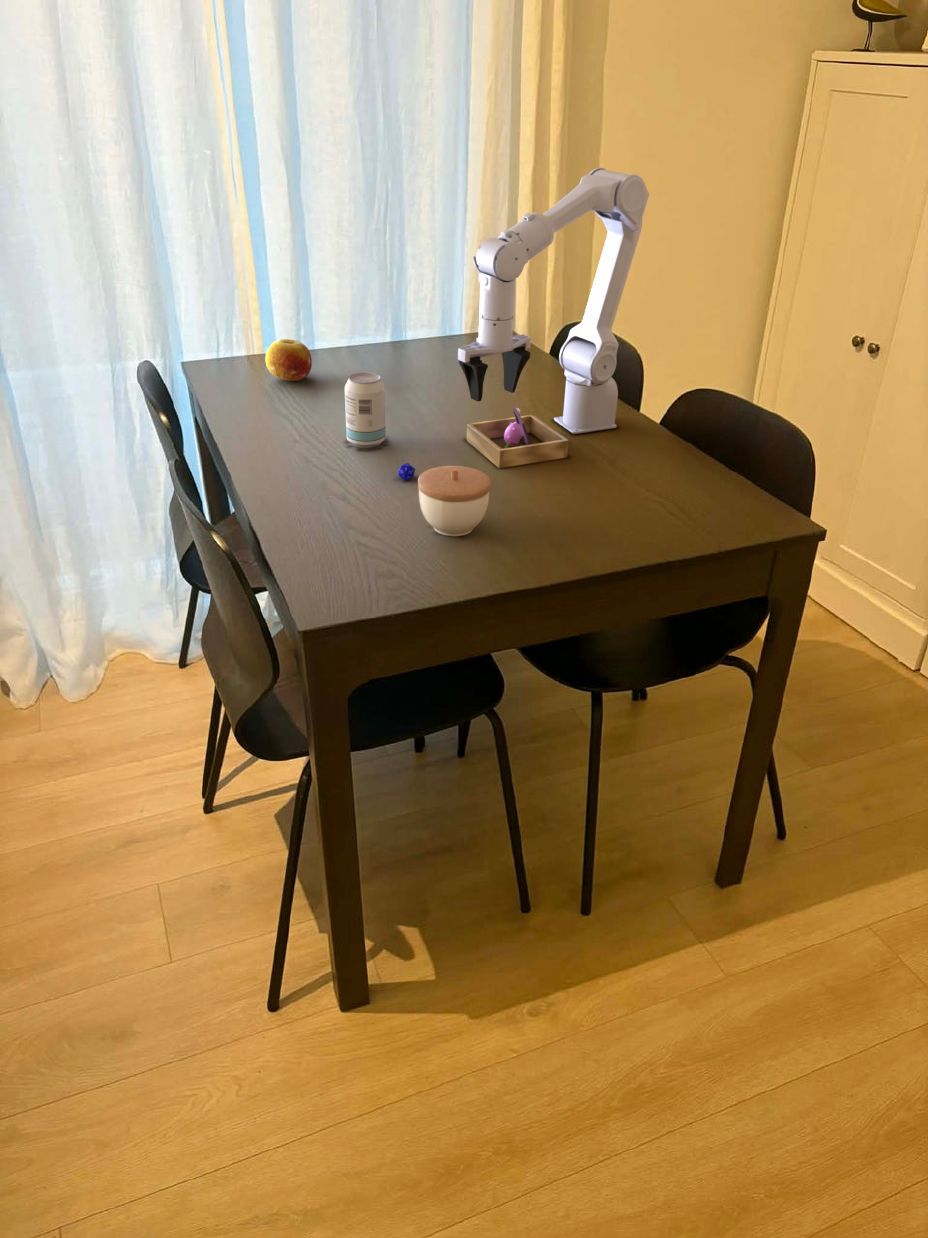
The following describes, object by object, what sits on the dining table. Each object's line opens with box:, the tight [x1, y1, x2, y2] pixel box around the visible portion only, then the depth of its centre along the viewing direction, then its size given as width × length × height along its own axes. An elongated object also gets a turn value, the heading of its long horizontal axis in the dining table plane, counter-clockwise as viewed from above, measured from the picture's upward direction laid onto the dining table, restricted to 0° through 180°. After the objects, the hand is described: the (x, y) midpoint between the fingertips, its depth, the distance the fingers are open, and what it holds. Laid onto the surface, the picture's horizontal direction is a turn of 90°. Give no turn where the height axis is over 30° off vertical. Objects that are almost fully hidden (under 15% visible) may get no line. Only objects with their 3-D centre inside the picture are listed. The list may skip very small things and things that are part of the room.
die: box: [397, 462, 416, 482], centre depth 162 cm, size 3×3×3 cm
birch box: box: [466, 414, 570, 469], centre depth 174 cm, size 13×13×3 cm
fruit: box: [264, 338, 313, 382], centre depth 201 cm, size 10×9×8 cm
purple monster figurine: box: [503, 405, 531, 449], centre depth 173 cm, size 7×5×9 cm
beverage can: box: [344, 371, 386, 449], centre depth 172 cm, size 7×7×12 cm
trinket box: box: [417, 465, 492, 537], centre depth 146 cm, size 11×11×9 cm
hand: (492, 395), depth 170 cm, fingers open, 7 cm apart
